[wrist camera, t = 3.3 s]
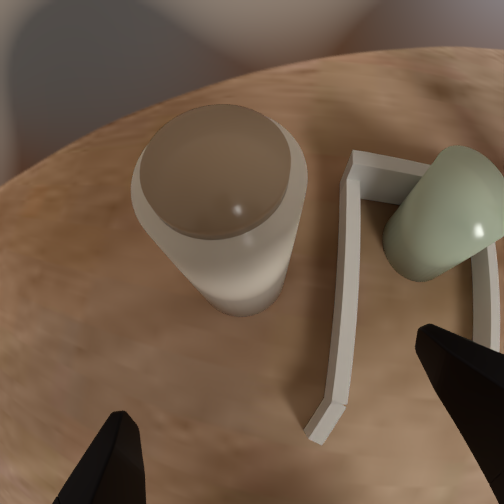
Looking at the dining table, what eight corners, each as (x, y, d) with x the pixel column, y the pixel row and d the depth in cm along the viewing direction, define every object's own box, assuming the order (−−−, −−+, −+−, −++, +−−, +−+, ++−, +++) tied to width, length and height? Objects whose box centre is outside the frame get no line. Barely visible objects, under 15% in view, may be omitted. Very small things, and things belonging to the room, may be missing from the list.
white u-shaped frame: (481, 427, 18) (515, 433, 14) (302, 435, 19) (311, 453, 15) (481, 209, 24) (508, 186, 20) (326, 180, 25) (337, 147, 21)
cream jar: (272, 326, 22) (285, 274, 9) (188, 303, 22) (93, 223, 9) (293, 245, 23) (324, 110, 10) (213, 225, 24) (166, 86, 11)
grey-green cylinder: (444, 289, 22) (517, 252, 13) (377, 271, 23) (433, 222, 14) (448, 221, 24) (507, 165, 15) (386, 201, 24) (432, 132, 16)
